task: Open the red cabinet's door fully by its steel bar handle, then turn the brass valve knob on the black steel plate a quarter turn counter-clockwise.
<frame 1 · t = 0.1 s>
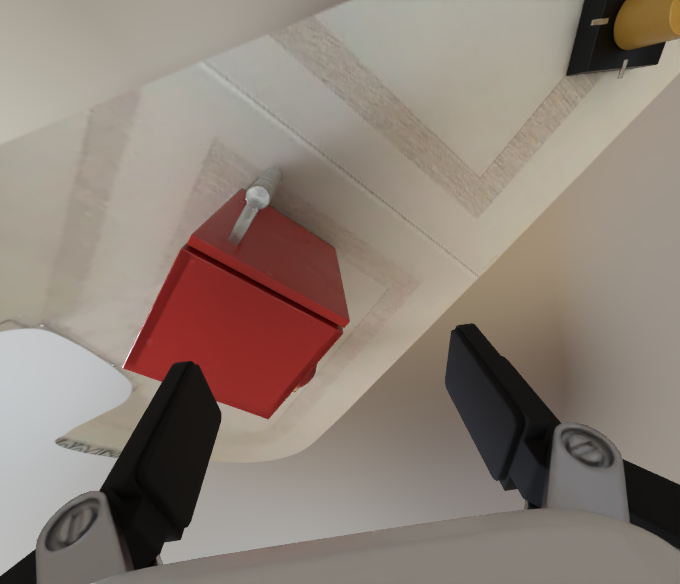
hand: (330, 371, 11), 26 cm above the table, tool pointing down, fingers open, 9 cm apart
red cabinet: (262, 265, 36), on the table
onion: (296, 346, 44), on the table
cabinet door: (297, 227, 26), point 8 cm above the table, hinge at 0.0°
valve knob: (669, 8, 23), point 5 cm above the table, hinge at 0.0°
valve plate: (612, 26, 27), on the table
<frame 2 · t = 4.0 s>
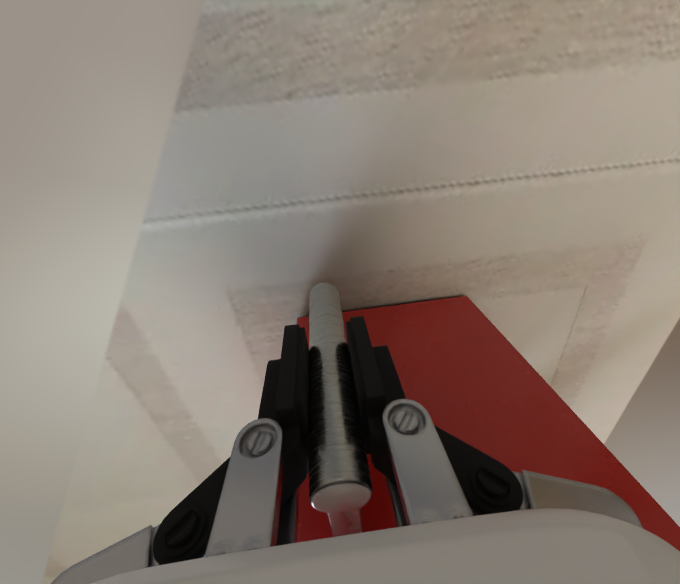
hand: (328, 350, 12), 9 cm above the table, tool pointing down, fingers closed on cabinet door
cabinet door: (418, 362, 13), point 8 cm above the table, hinge at 0.0°, touching gripper
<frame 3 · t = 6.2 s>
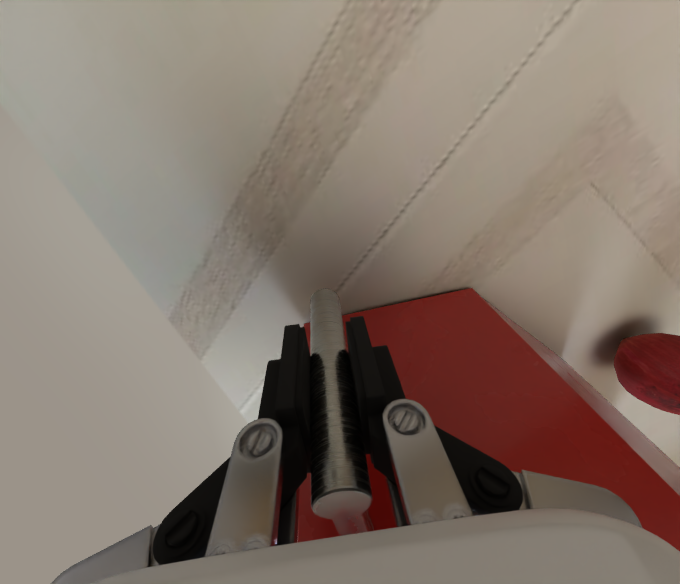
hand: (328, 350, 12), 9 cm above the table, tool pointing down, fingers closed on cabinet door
red cabinet: (465, 376, 26), on the table
onion: (620, 339, 26), on the table
cabinet door: (422, 362, 13), point 8 cm above the table, hinge at 42.4°, touching gripper
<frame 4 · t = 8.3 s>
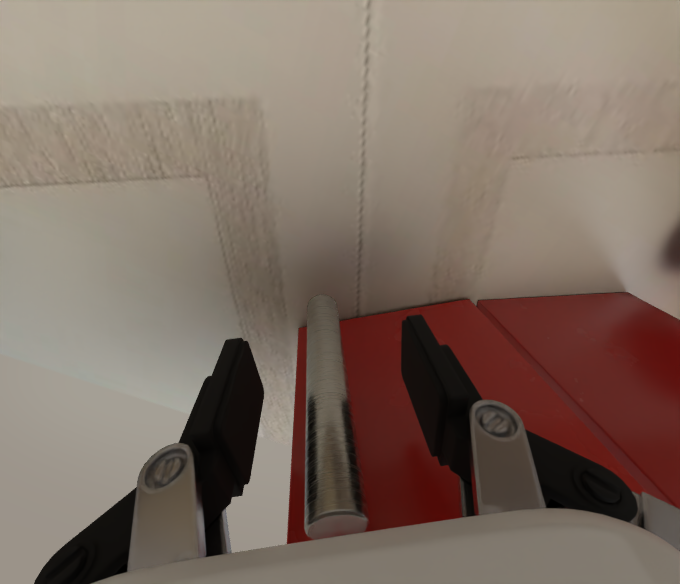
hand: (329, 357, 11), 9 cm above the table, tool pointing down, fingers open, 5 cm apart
red cabinet: (527, 359, 25), on the table
cabinet door: (419, 374, 13), point 8 cm above the table, hinge at 82.3°
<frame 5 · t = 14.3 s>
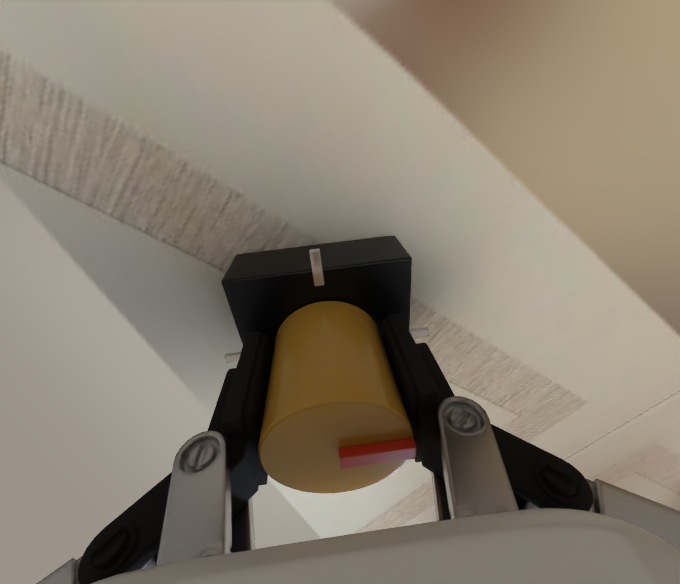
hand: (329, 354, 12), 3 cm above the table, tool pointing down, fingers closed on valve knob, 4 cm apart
valve knob: (332, 391, 10), point 5 cm above the table, hinge at 0.1°, touching gripper
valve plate: (325, 310, 14), on the table
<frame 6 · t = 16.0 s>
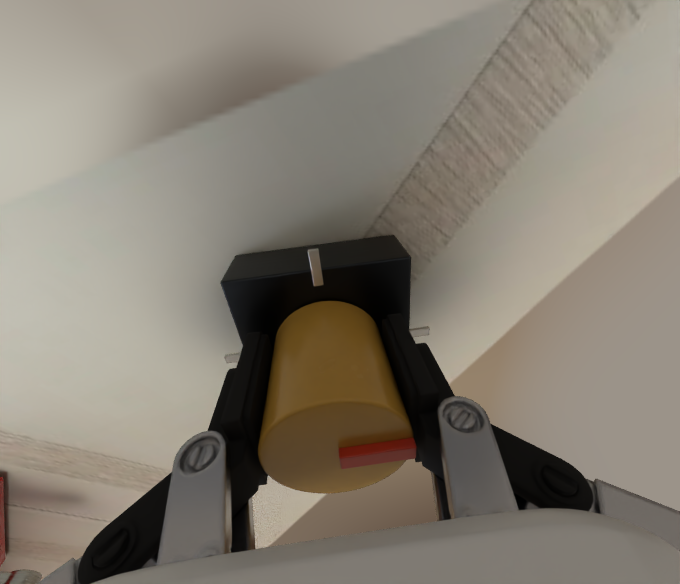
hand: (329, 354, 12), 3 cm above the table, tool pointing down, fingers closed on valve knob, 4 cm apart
valve knob: (332, 391, 10), point 5 cm above the table, hinge at 89.7°, touching gripper
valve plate: (325, 310, 14), on the table
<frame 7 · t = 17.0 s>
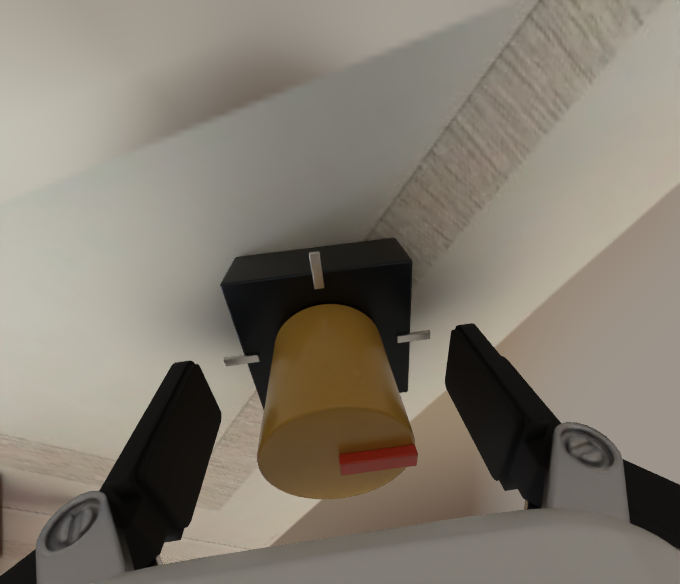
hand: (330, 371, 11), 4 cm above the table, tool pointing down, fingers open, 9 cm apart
valve knob: (332, 395, 10), point 5 cm above the table, hinge at 88.7°
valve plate: (325, 313, 14), on the table
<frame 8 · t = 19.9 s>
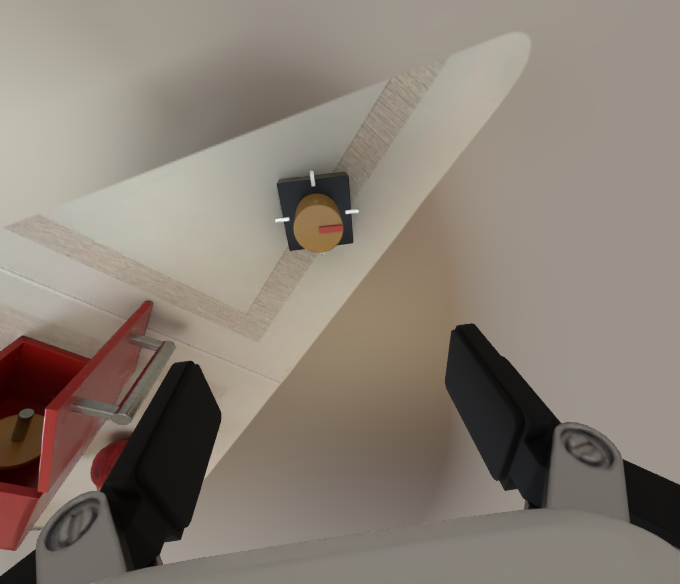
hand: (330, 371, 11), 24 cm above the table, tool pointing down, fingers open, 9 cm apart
red cabinet: (68, 382, 41), on the table
onion: (129, 439, 48), on the table
cabinet door: (126, 390, 32), point 8 cm above the table, hinge at 82.3°
valve knob: (318, 222, 27), point 5 cm above the table, hinge at 88.7°
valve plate: (316, 209, 32), on the table
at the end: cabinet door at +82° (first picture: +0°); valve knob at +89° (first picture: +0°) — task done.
